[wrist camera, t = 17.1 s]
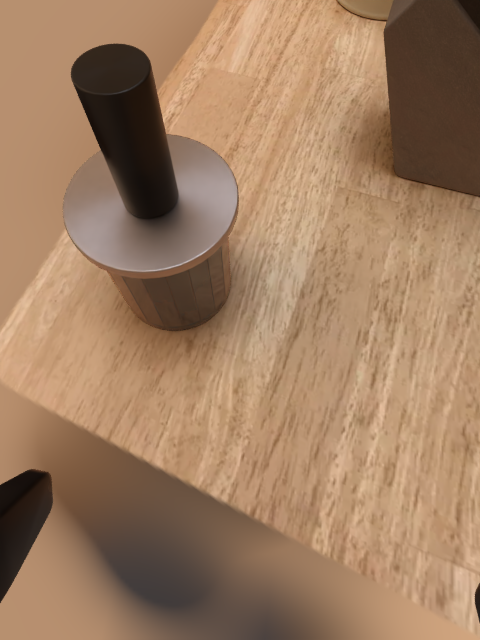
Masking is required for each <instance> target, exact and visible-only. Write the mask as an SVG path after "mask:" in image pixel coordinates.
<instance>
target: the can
mask: <svg viewBox="0 0 480 640" xmlns="http://www.w3.org/2000/svg"><path fill="white" fill-rule="evenodd" d="M338 2H339V3H340V4H341V5H342V6H343V7H344V8H346V9H347V10H349V11H350V12H352V13H354V14H357V15H359V16H362V17H366V18H370V19H377V20H387V19H388V16H389V13H390V9H391V6H392V3H393V0H338Z"/></svg>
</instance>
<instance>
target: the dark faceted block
mask: <svg viewBox="0 0 480 640" xmlns="http://www.w3.org/2000/svg"><path fill="white" fill-rule="evenodd" d="M384 44H385V57H386V70H387V83H388V96H389V109H390V122H391V134H392V147H393V160H394V170H395V173H396V175H398V176H399V177H403V178H407V179H411V180H415V181H419V182H423V183H427V184H431V185H436V186H440V187H444V188H448V189H452V190H456V191H460V192H465V193H469V194H473V195H477V196H480V0H393V3H392V6H391V9H390V13H389V16H388V19H387V22H386V26H385V29H384Z"/></svg>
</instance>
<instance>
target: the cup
mask: <svg viewBox="0 0 480 640" xmlns="http://www.w3.org/2000/svg"><path fill="white" fill-rule="evenodd" d="M107 273H108V274H109V276H110V277H111V279H112V281H113V282H114V284H115V285H116V287H117V289H118V290H119V292H120V293H121V295H122V296H123V298H124V300H125V301H126V303H127V304H128V305H129V307H130V308H131V310H132V311H133V313H134V314H135V315H136V316H137V317H138V318H139V319H141V320H142V321H143V322H145V323H146V324H148V325H150V326H153V327H155V328H159V329H162V330H170V331H178V330H186V329H190V328H193V327H196V326H199V325H201V324H202V323H204V322H206V321H208V320H209V319H211V318H212V317H213V316H214V315H215V314H216V313H217V312H218V311H219V310H220V309H221V308H222V306H223V305H224V303H225V301H226V299H227V297H228V294H229V291H230V285H231V276H230V255H229V237H228V238H227V239H226V241H225V242H224V243H223V244H222V246H221V247H220V248H219V249H218V250H217V251H216V252H215V253H214V254H213V255H211V256H210V257H209V258H207V259H206V260H205V261H203V262H202V263H200V264H198V265H196V266H195V267H193V268H191V269H188V270H186V271H183V272H181V273H177V274H174V275H171V276H166V277H160V278H148V279H143V278H130V277H125V276H120V275H117V274H113V273H110V272H108V271H107Z"/></svg>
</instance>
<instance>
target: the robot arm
mask: <svg viewBox="0 0 480 640" xmlns="http://www.w3.org/2000/svg"><path fill="white" fill-rule="evenodd" d="M51 480H52V479H51V475H50V474H49V473H48V472H45V471H41V470H36V469H31V470H27V471H25V472H23V473H21V474H20V475H18V476H16V477H14V478H12V479H10V480H8V481H7V482H5V483H3V484H1V485H0V603H1V601H2V599H3V598H4V596H5V595H6V593H7V591H8V589H9V588H10V586H11V585H12V583H13V581H14V579H15V577H16V576H17V574H18V572H19V570H20V568H21V566H22V564H23V562H24V560H25V559H26V557H27V555H28V553H29V551H30V549H31V547H32V545H33V543H34V542H35V540H36V538H37V536H38V534H39V532H40V530H41V528H42V527H43V524H44V523H45V521H46V519H47V517H48V515H49V513H50V511H51V508H52V503H53V496H52V495H53V494H52V481H51ZM475 605H476V610H477V614H478V618H479V622H480V583H479V585H478V587H477V589H476V592H475Z"/></svg>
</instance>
